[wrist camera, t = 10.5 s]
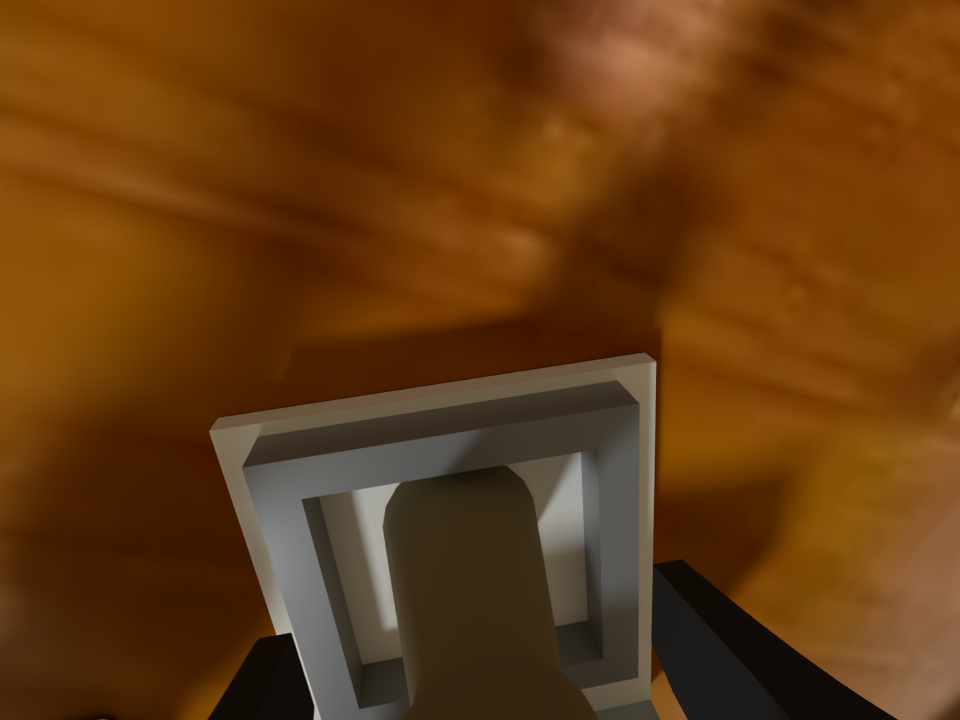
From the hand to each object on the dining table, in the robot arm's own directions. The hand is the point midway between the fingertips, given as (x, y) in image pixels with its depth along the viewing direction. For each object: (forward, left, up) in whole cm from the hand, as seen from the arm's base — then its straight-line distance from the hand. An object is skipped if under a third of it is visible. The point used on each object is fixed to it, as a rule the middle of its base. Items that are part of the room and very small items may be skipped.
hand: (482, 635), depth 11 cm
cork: (0, -5, -10) cm, 11 cm away
